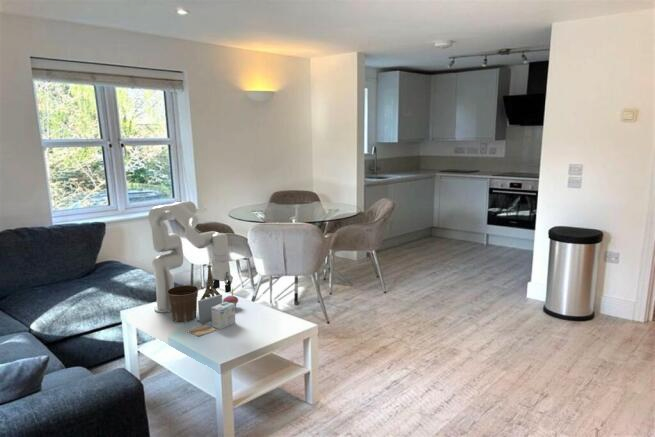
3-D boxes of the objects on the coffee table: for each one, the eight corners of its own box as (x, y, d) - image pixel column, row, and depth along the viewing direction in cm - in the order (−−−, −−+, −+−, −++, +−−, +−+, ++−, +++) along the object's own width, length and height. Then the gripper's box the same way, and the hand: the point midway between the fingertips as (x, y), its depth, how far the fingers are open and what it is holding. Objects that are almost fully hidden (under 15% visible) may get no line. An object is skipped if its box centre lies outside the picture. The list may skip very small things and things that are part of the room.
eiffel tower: (222, 296, 281) (220, 256, 277) (216, 302, 271) (214, 261, 267) (206, 295, 283) (204, 256, 278) (199, 301, 272) (197, 260, 268)
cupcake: (231, 304, 266) (230, 284, 264) (241, 307, 261) (241, 287, 259) (220, 309, 259) (219, 288, 257) (230, 312, 254) (229, 291, 252)
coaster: (187, 331, 228) (187, 330, 228) (204, 325, 236) (204, 324, 236) (198, 336, 222) (198, 335, 222) (215, 330, 229) (215, 329, 229)
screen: (197, 321, 240) (196, 300, 238) (219, 314, 251) (218, 293, 249) (202, 324, 237) (201, 302, 235) (224, 316, 247) (223, 295, 245)
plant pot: (191, 325, 235) (189, 295, 233) (162, 323, 239) (160, 293, 236) (205, 314, 251) (204, 286, 249) (178, 312, 254) (177, 284, 252)
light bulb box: (227, 320, 243) (226, 300, 241) (236, 323, 239) (235, 303, 237) (211, 326, 234) (210, 306, 232) (220, 329, 230) (219, 309, 228)
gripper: (204, 256, 234) (206, 288, 236) (224, 261, 222) (226, 295, 225) (217, 253, 239) (218, 285, 242) (237, 258, 228) (238, 291, 230)
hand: (222, 290), depth 233 cm, fingers open, 9 cm apart
